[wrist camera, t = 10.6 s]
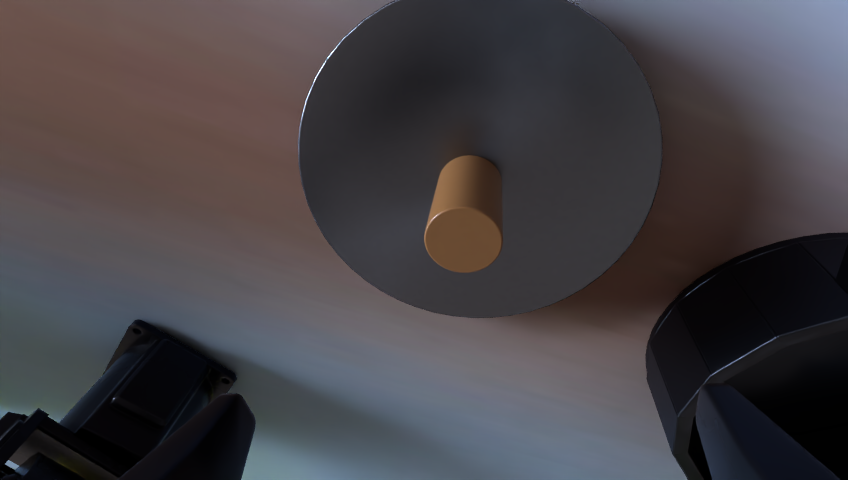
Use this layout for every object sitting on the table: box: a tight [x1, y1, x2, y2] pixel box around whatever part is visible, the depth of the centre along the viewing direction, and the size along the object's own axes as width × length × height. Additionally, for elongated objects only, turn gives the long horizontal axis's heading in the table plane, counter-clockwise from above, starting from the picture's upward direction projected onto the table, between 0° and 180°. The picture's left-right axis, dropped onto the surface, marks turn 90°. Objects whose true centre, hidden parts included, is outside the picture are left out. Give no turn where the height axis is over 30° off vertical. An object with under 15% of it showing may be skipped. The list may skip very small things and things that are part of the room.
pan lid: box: [298, 0, 662, 318], centre depth 16 cm, size 13×13×5 cm
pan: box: [646, 233, 848, 480], centre depth 19 cm, size 12×18×4 cm
